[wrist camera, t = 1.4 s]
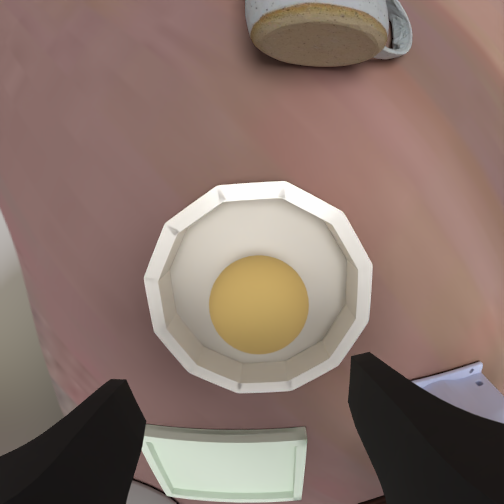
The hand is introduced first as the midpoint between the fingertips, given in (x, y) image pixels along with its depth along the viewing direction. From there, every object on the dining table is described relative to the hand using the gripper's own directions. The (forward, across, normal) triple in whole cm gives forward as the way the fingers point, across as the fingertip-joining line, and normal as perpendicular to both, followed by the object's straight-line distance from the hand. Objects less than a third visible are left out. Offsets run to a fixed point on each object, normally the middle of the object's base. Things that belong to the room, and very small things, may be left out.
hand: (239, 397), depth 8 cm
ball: (+7, -1, 0) cm, 7 cm away
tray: (+9, +4, +18) cm, 20 cm away
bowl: (+10, -1, 0) cm, 10 cm away
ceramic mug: (+11, -8, -16) cm, 21 cm away
